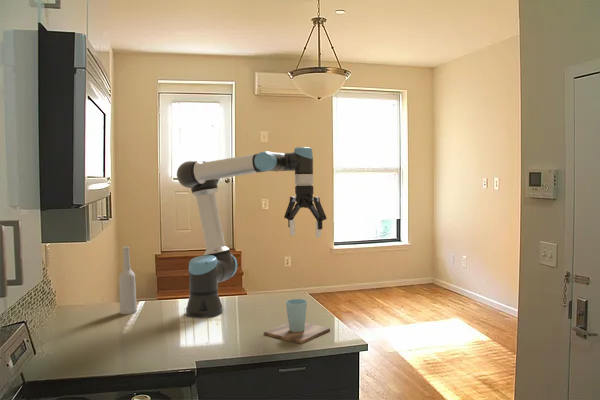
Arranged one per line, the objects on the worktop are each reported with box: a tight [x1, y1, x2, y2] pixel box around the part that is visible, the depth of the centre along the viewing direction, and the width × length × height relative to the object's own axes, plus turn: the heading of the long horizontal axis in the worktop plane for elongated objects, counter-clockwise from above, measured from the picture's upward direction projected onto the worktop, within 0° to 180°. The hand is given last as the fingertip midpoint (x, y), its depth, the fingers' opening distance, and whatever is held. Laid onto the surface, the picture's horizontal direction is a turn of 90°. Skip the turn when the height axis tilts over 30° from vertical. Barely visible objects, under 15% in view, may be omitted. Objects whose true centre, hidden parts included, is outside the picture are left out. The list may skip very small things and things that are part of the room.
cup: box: [285, 298, 308, 332], centre depth 179 cm, size 8×8×10 cm
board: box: [263, 322, 331, 345], centre depth 179 cm, size 17×17×1 cm
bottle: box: [118, 246, 138, 315], centre depth 210 cm, size 7×7×28 cm
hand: (305, 236), depth 203 cm, fingers open, 13 cm apart
